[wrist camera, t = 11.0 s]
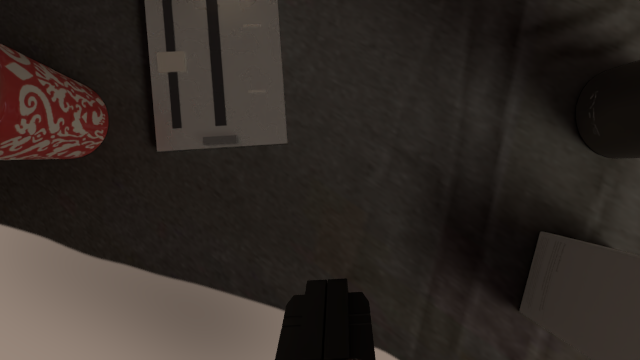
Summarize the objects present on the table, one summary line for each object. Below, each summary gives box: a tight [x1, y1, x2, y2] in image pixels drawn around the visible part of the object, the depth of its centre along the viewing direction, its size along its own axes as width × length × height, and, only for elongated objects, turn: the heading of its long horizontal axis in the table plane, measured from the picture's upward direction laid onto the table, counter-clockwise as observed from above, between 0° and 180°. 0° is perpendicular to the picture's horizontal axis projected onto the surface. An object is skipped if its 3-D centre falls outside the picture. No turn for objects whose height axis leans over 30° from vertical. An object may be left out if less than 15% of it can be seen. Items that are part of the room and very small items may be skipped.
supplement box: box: [519, 231, 640, 360], centre depth 28 cm, size 9×9×15 cm
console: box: [145, 0, 288, 152], centre depth 32 cm, size 12×22×2 cm, turn 4°
